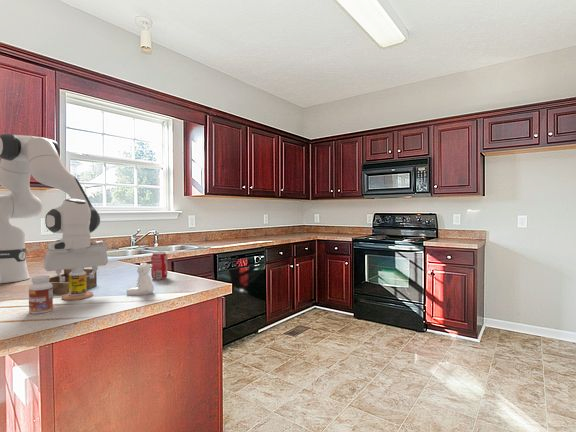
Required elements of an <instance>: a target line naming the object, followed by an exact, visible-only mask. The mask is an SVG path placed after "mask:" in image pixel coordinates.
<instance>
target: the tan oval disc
mask: <svg viewBox="0 0 576 432" xmlns="http://www.w3.org/2000/svg"><path fill="white" fill-rule="evenodd" d="M93 296H94V292H93V291H87V290H86V294H84V295H79V296H71V295H69V293H64V294H62V295H61V300H63V301H79V300H85V299H89V298H91V297H93Z"/></svg>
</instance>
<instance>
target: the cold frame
mask: <svg viewBox="0 0 576 432" xmlns="http://www.w3.org/2000/svg"><path fill="white" fill-rule="evenodd" d="M84 271H85V272H86V290H88V289H90V288H91V289H92V288H93V287H95V286H98V284H97V283H98V282H97V278H98V277H97V271H96V272H95V274H94V278H92V279H90V278H89V274H90V273H92V271H93V269H92V268H84ZM69 273H71V269H65V270H63V274H60V275H61V276H62V277H65V282H61V283H60V277H59V276H58V275H55V276H52V277H51V276H50V281H49V282H50V283H51V284H52V285H53V294H68V293H69Z"/></svg>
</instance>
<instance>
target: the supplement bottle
mask: <svg viewBox="0 0 576 432" xmlns="http://www.w3.org/2000/svg"><path fill="white" fill-rule="evenodd" d="M84 269H85V267H84V268H74V269H71V273H69V295H71V296H79V295H84V294H86V291H87V289H86V272H85V271H84Z"/></svg>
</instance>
